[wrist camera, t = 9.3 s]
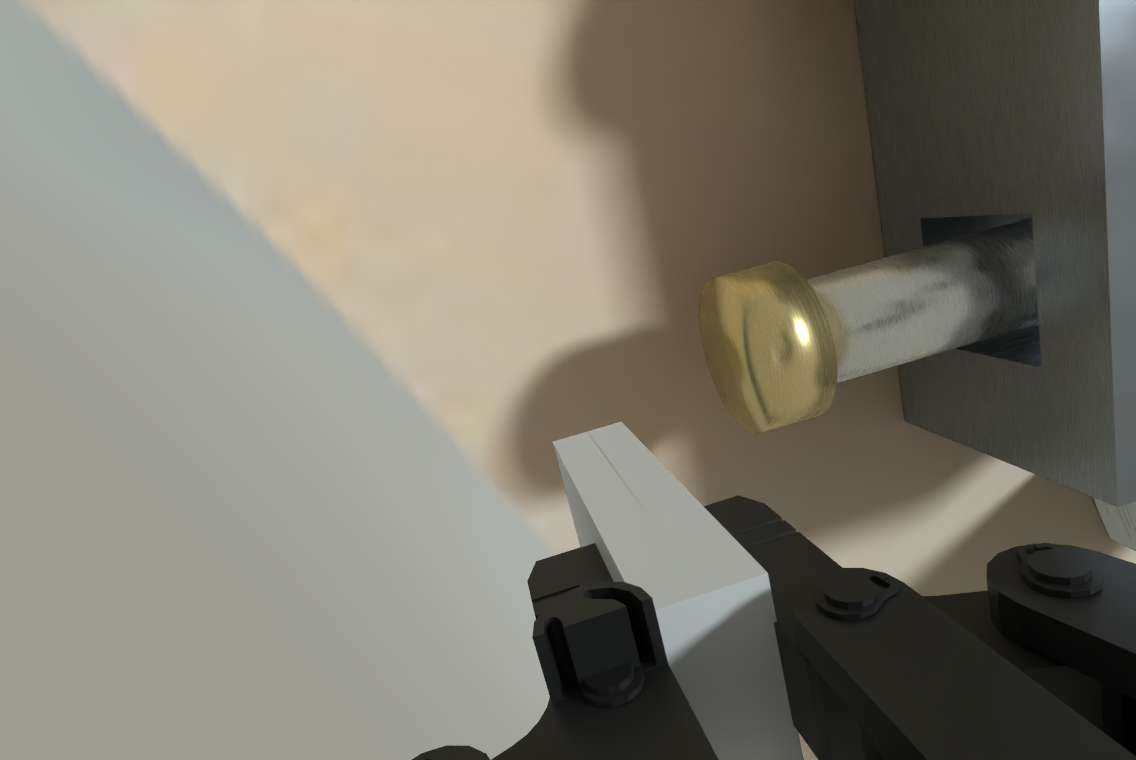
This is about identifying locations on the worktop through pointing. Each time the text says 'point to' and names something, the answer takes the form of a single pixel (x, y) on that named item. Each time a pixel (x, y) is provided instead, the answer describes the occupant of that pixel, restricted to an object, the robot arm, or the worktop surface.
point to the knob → (858, 320)
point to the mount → (1019, 216)
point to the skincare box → (1119, 522)
